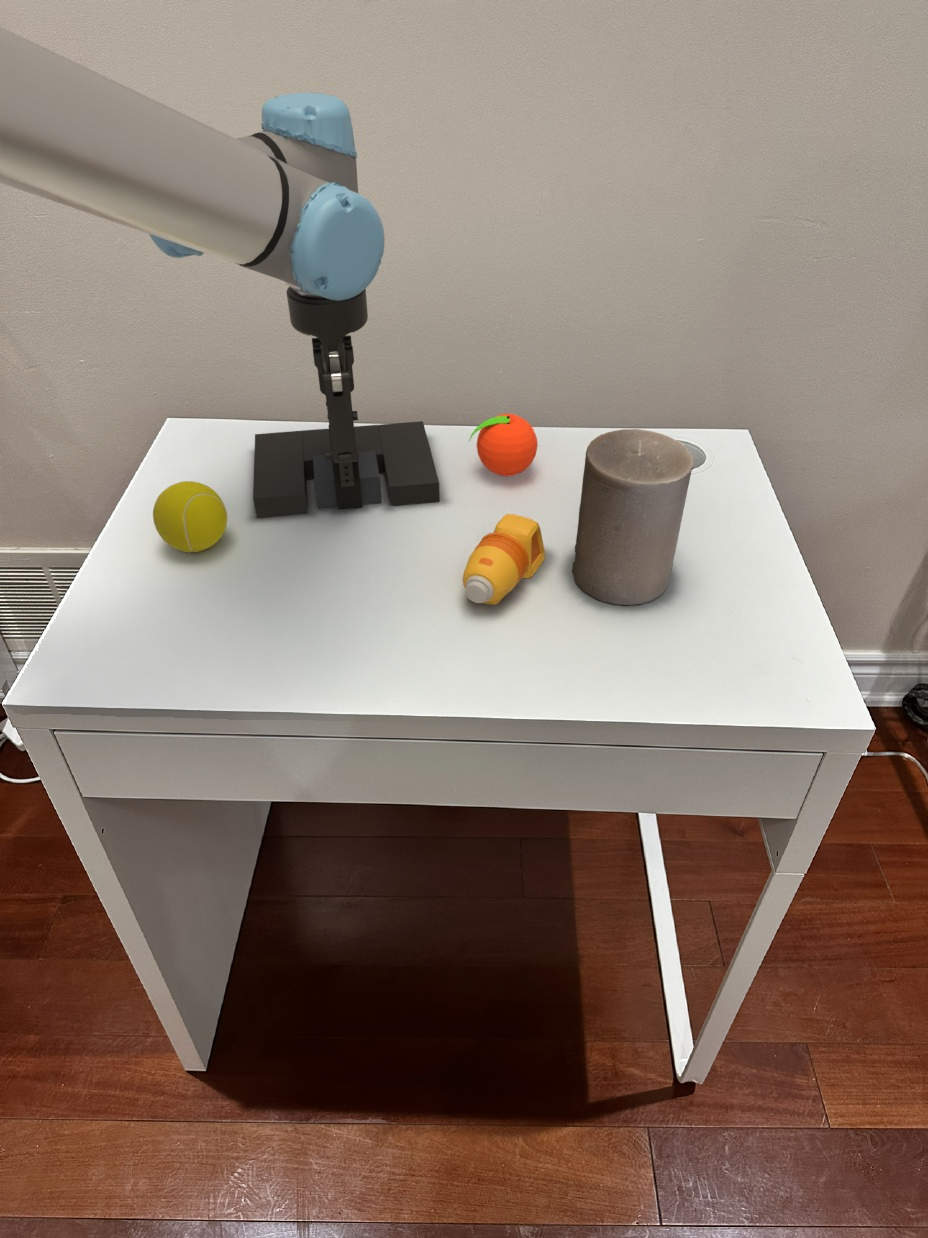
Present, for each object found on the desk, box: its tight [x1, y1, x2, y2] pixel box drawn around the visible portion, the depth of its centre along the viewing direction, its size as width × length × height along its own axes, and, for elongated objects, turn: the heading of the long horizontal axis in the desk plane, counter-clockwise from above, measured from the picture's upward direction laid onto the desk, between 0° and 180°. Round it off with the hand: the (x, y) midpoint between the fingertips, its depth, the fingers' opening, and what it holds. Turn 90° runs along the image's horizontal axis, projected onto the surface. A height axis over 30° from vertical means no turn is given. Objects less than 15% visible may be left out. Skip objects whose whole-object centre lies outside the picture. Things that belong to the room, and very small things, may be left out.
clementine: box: [468, 413, 538, 477], centre depth 100 cm, size 8×7×7 cm
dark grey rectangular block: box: [313, 451, 382, 510], centre depth 98 cm, size 7×6×4 cm
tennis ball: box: [152, 480, 228, 553], centre depth 89 cm, size 7×7×7 cm
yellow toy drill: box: [462, 513, 546, 606], centre depth 85 cm, size 5×6×12 cm
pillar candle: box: [571, 428, 695, 606], centre depth 83 cm, size 10×10×15 cm
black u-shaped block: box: [252, 420, 440, 519], centre depth 101 cm, size 20×14×2 cm
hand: (348, 490), depth 99 cm, fingers closed on dark grey rectangular block, 5 cm apart
